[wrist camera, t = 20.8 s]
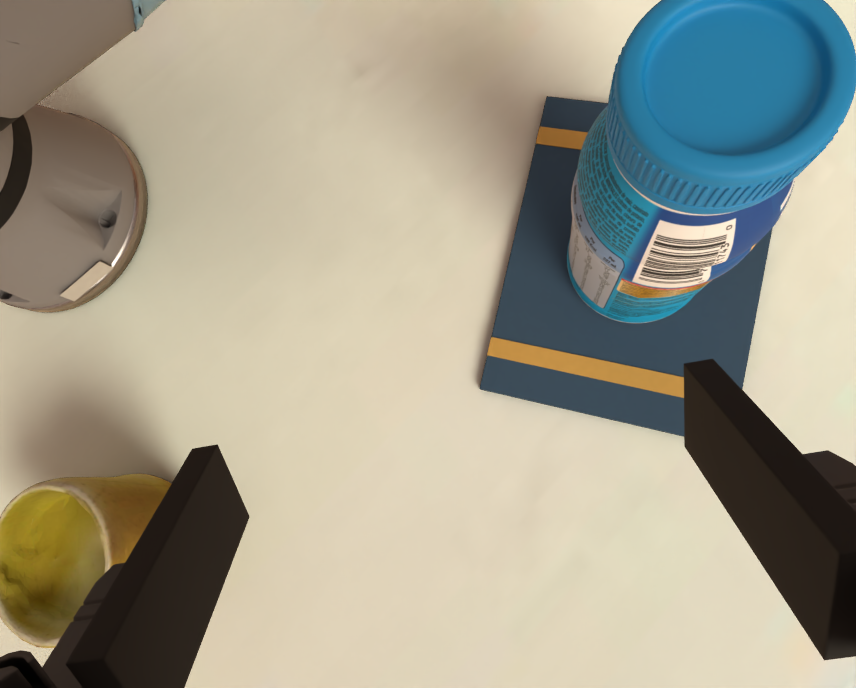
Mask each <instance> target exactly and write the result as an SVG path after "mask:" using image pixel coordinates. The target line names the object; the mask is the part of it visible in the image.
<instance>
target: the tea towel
mask: <svg viewBox="0 0 856 688" xmlns="http://www.w3.org/2000/svg"><path fill="white" fill-rule="evenodd" d="M607 105H608V103H600V102H591V101H582V100H574V99H565V98H557V97H548V96H547V97H546V102H545V106H544V111H543V115H542V119H541V124H540V127H539V131H538V136H537V140H536V145H535V150H534V154H533V158H532V163H531V167H530V171H529V176H528V180H527V184H526V189H525V193H524V197H523V202H522V206H521V210H520V215H519V219H518V223H517V228H516V232H515V237H514V241H513V245H512V250H511V254H510V258H509V263H508V267H507V271H506V276H505V280H504V284H503V289H502V293H501V297H500V302H499V306H498V310H497V315H496V319H495V323H494V328H493V332H492V336H491V340H490V344H489V349H488V353H487V358H486V363H485V367H484V371H483V376H482V380H481V384H480V389H481V390H485V391H489V392H494V393H498V394H502V395H507V396H511V397H515V398H520V399H524V400H528V401H533V402H537V403H541V404H546V405H550V406H554V407H559V408H563V409H567V410H572V411H576V412H580V413H585V414H589V415H593V416H598V417H602V418H606V419H611V420H615V421H619V422H624V423H628V424H632V425H636V426H641V427H645V428H649V429H654V430H658V431H662V432H667V433H671V434H675V435H680V436H684V363H690V362H696V361H701V360H707V359H714V360H715V361H716V362H717V363H718V364H719V366H720V367H721V368H722V369H723V370H724V371H725V372H726V373H727V374H728V375H729V376H730V377H731V378H732V379H733V381H734V382H735V383H736V384H737V385H738V386H739V387H740V388H741V389H742V387H743V382H744V377H745V371H746V366H747V361H748V355H749V350H750V345H751V339H752V334H753V328H754V323H755V318H756V312H757V307H758V302H759V296H760V291H761V286H762V280H763V275H764V270H765V264H766V259H767V254H768V248H769V243H770V238H771V232H772V228H771V230H770V231H769V232H768V233H767V234H766V235H765V236H764V237H763V238H762V239H761V240H760V241H759V242H757V243H756V245H755V246H754V247H753V249H752V250H751V251H750V252H749V253H748V254H747V255H746V256H745V257H744V258H743V259H742V260H741V261H740V262H739V263H738V264H737V265H736V266H734V267H733V268H732V269H730V270H729V271H727V272H726V273H724V274H723V275H721V276H719V277H717V278H715V279H713V280H712V281H711V282H710V283H708V284H707V285H706V286H705V287H704V288H702V289H701V290H700V291H699V292H698V293H697V294H696V295H695V296H694V297H693V298H692V299H691V300H690V301H689V302H688V303H687V304H686V305H685V306H683V307H682V308H681V309H679V310H678V311H676V312H675V313H673V314H671V315H669V316H667V317H665V318H662V319H660V320H656V321H652V322H646V323H626V322H620V321H616V320H613V319H610V318H607V317H605V316H603V315H601V314H599V313H598V312H596V311H595V310H593V309H592V308H591V307H589V306H588V305H587V304H586V303H585V302H584V301H583V300H582V299H581V297H580V296H579V295H578V293H577V292H576V290H575V288H574V286H573V284H572V282H571V279H570V276H569V273H568V267H567V250H568V244H569V240H570V235H571V226H572V211H571V194H572V186H573V182H574V178H575V174H576V171H577V168H578V161H579V156H580V152H581V149H582V146H583V143H584V140H585V138H586V136H587V134H588V132H589V130H590V128H591V126H592V125H593V123H594V122H595V120H596V119H597V117H598V116H599V115H600V113H601V112H602V111H603V110H604V109H605V107H606V106H607Z"/></svg>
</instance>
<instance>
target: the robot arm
mask: <svg viewBox="0 0 856 688" xmlns="http://www.w3.org/2000/svg"><path fill="white" fill-rule="evenodd" d="M164 1H165V0H0V301H1V302H3V303H6V304H8V305H11V306H14V307H18V308H23V309H27V310H31V311H37V312H59V311H65V310H69V309H72V308H75V307H78V306H80V305H83V304H85V303H87V302H89V301H91V300H92V299H94V298H95V297H97V296H98V295H100V294H101V293H102V292H104V291H105V290H106V289H107V288H108V287H110V286H111V285H112V284H113V283H114V282H115V281H116V280H117V278H118V277H119V276H120V275H121V274H122V272H123V271H124V270H125V269H126V267H127V266H128V264H129V263H130V261H131V259H132V258H133V256H134V254H135V252H136V250H137V248H138V245H139V243H140V240H141V237H142V235H143V231H144V227H145V223H146V217H147V206H148V199H147V188H146V182H145V178H144V174H143V172H142V169H141V166H140V164H139V162H138V160H137V158H136V157H135V155H134V154H133V152H132V151H131V150H130V148H129V147H128V146H127V145H126V144H125V143H124V142H123V141H122V140H121V139H119V138H118V137H117V136H115V135H114V134H113V133H111V132H110V131H108V130H107V129H105V128H104V127H102V126H101V125H99V124H97V123H95V122H93V121H91V120H88V119H86V118H84V117H82V116H79V115H76V114H72V113H65V112H61V111H58V110H54V109H51V108H47V107H44V106H40V105H37V103H39V102H40V101H41V100H43V99H44V98H45V97H47V96H48V95H49V94H51V93H52V92H53V91H55V90H56V89H57V88H58V87H60V86H61V85H62V84H64V83H65V82H66V81H68V80H69V79H70V78H72V77H73V76H74V75H76V74H77V73H78V72H80V71H81V70H82V69H84V68H85V67H86V66H88V65H89V64H90V63H92V62H93V61H94V60H96V59H97V58H98V57H100V56H101V55H102V54H104V53H105V52H106V51H107V50H109V49H110V48H111V47H113V46H114V45H115V44H117V43H118V42H119V41H121V40H122V39H123V38H125V37H126V36H127V35H129V34H130V33H131V32H133V31H135V32H136V31H137V30H139V28H140V27H142V25H143V23H144V19H145V18H146V17H147V16H149V15H150V14H151V13H152V12H153V11H154V10H155V9H156V8H157V7H158V6H160V5H161V4H162V3H163V2H164ZM684 437H685V448H686V449H687V451H688V452H689V454H690V455H691V457H692V458H693V460H694V461H695V463H696V465H697V466H698V468H699V469H700V471H701V472H702V474H703V475H704V477H705V478H706V480H707V481H708V483H709V484H710V486H711V487H712V489H713V491H714V492H715V494H716V495H717V497H718V498H719V500H720V501H721V503H722V504H723V506H724V507H725V509H726V510H727V512H728V513H729V515H730V517H731V518H732V520H733V521H734V523H735V524H736V526H737V527H738V529H739V530H740V532H741V533H742V535H743V536H744V538H745V540H746V541H747V543H748V544H749V546H750V547H751V549H752V550H753V552H754V553H755V555H756V556H757V558H758V559H759V561H760V562H761V564H762V566H763V567H764V569H765V570H766V572H767V573H768V575H769V576H770V578H771V579H772V581H773V582H774V584H775V585H776V587H777V589H778V590H779V592H780V593H781V595H782V596H783V598H784V599H785V601H786V602H787V604H788V605H789V607H790V608H791V610H792V611H793V613H794V615H795V616H796V618H797V619H798V621H799V622H800V624H801V625H802V627H803V628H804V630H805V631H806V633H807V634H808V636H809V637H810V639H811V641H812V642H813V644H814V645H815V647H816V648H817V650H818V651H819V653H820V654H821V656H822V657H823V659H824V660H829V659H837V658H845V657H853V656H856V466H855V465H854V464H853V463H851V462H849V461H847V460H845V459H843V458H841V457H839V456H837V455H836V454H834V453H832V452H830V451H821V452H815V453H808V454H802V453H801V452H800V451H799V450H798V449H797V448H796V447H795V446H794V445H793V444H792V443H791V442H790V441H789V440H788V438H787V437H786V436H785V435H784V434H783V433H782V432H781V431H780V430H779V429H778V428H777V427H776V426H775V424H774V423H773V422H772V421H771V420H770V419H769V418H768V417H767V416H766V415H765V414H764V413H763V412H762V411H761V409H760V408H759V407H758V406H757V405H756V404H755V403H754V402H753V401H752V400H751V399H750V398H749V397H748V396H747V394H746V393H745V392H744V391H743V390H742V389H741V388H740V387H739V386H738V385H737V384H736V383H735V382H734V381H733V379H732V378H731V377H730V376H729V375H728V374H727V373H726V372H725V371H724V370H723V369H722V368H721V367H720V366H719V364H718V363H717V362H716V361H715V360H714V359H707V360H701V361H696V362H690V363H684ZM248 519H249V515H248V512H247V510H246V508H245V505H244V503H243V501H242V499H241V496H240V494H239V492H238V490H237V487H236V485H235V483H234V481H233V478H232V476H231V474H230V472H229V469H228V467H227V465H226V463H225V460H224V458H223V456H222V454H221V451H220V449H219V447H218V445H212V446H206V447H201V448H195V449H192V450H191V452H190V454H189V455H188V457H187V459H186V460H185V462H184V464H183V465H182V467H181V469H180V471H179V472H178V474H177V476H176V477H175V479H174V481H173V482H172V484H171V486H170V487H169V489H168V491H167V493H166V494H165V496H164V498H163V499H162V501H161V503H160V504H159V506H158V508H157V509H156V511H155V513H154V515H153V516H152V518H151V520H150V521H149V523H148V525H147V526H146V528H145V530H144V532H143V533H142V535H141V537H140V538H139V540H138V542H137V543H136V545H135V547H134V548H133V550H132V552H131V554H130V555H129V557H128V559H127V560H126V562H125V563H120V564H114V565H113V566H112V567H111V568H110V569H109V570H108V571H107V572H106V573H105V574H104V575H103V576H102V577H101V578H100V579H98V580H97V581H96V582H95V584H94V586H93V587H92V589H91V590H90V592H89V594H88V595H87V597H86V598H85V600H84V602H83V606H80V608H79V610H78V611H77V613H76V614H75V616H74V618H73V619H74V620H73V622H70V624H69V626H68V627H67V629H66V630H65V632H64V634H63V635H62V637H61V638H60V640H59V642H58V643H57V645H56V646H55V648H54V650H53V651H52V653H51V654H50V656H49V658H48V659H47V661H46V662H45V664H44V666H43V667H41V665H40V664H39V663H38V662H37V660H36V659H35V658H34V656H33V655H32V654H31V652H27V651H16V652H12V653H8V654H6V655H4V656H2V657H0V688H184V687H185V684H186V682H187V679H188V677H189V674H190V671H191V669H192V666H193V663H194V661H195V658H196V656H197V653H198V650H199V648H200V645H201V642H202V640H203V637H204V635H205V632H206V629H207V627H208V624H209V621H210V619H211V616H212V614H213V611H214V608H215V606H216V603H217V600H218V598H219V595H220V593H221V590H222V587H223V585H224V582H225V579H226V577H227V574H228V572H229V569H230V566H231V564H232V561H233V558H234V556H235V553H236V551H237V548H238V545H239V543H240V540H241V538H242V535H243V532H244V530H245V527H246V524H247V522H248Z"/></svg>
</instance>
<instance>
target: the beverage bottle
mask: <svg viewBox="0 0 856 688" xmlns="http://www.w3.org/2000/svg"><path fill="white" fill-rule="evenodd" d="M855 88H856V54H855V49H854V45H853V42H852V39H851V37H850V35H849V32H848V30H847V28H846V27H845V25H844V23H843V22H842V20H841V19H840V17H839V16H838V15H837V13H836V12H835V11H834V10H833V9H832V8H831V7H830V6H829V5H828V4H827V3H826V2H825V1H824V0H661V1H660V2H659V3H657V4H656V5H655V6H654V7H653V8H652V9H651V10H650V11H649V12H648V13H647V14H646V15H645V16H644V17H643V18H642V19H641V20H640V22H639V23H638V24H637V25H636V27H635V28H634V30H633V31H632V33H631V34H630V36H629V38H628V39H627V42H626V44H625V46H624V47H623V48H622V52H621V55H619V57H618V62H617V64H616V66H615V71H614V74H613V79H612V84H611V90H610V95H609V102H608V105H607V106H606V107H605V109H604V110H603V111H602V112H601V113H600V115H599V116H598V117H597V119H596V120H595V122H594V123H593V125H592V126H591V128H590V130H589V132H588V134H587V136H586V138H585V140H584V143H583V146H582V149H581V152H580V156H579V161H578V168H577V171H576V174H575V178H574V182H573V186H572V194H571V211H572V226H571V235H570V240H569V244H568V250H567V267H568V273H569V276H570V279H571V282H572V284H573V286H574V288H575V290H576V292H577V293H578V295H579V296H580V297H581V299H582V300H583V301H584V302H585V303H586V304H587V305H588V306H589V307H591V308H592V309H593V310H595V311H596V312H598V313H599V314H601V315H603V316H605V317H607V318H610V319H613V320H616V321H620V322H626V323H646V322H652V321H656V320H660V319H662V318H665V317H667V316H669V315H671V314H673V313H675V312H676V311H678V310H679V309H681V308H682V307H683V306H685V305H686V304H687V303H688V302H689V301H690V300H691V299H692V298H693V297H694V296H695V295H696V294H697V293H698V292H699V291H700V290H701V289H702V288H704V287H705V286H706V285H707V284H708V283H710V282H711V281H712V280H713V279H715V278H717V277H719V276H721V275H723V274H724V273H726V272H727V271H729V270H730V269H732V268H733V267H734V266H736V265H737V264H738V263H739V262H740V261H741V260H742V259H743V258H744V257H745V256H746V255H747V254H748V253H749V252H750V251H751V250H752V249H753V247H754V246H755V245H756V243H757V242H759V241H760V240H761V239H762V238H763V237H764V236H765V235H766V234H767V233H768V232H769V231H770V230H771V228H772V227H773V226H774V225H775V223H776V222H777V221H778V219H779V218H780V216H781V214H782V213H783V211H784V209H785V207H786V205H787V203H788V201H789V198H790V195H791V193H792V189H793V186H794V182H795V177H796V176H798V175H799V174H800V173H801V172H802V171H803V170H804V169H805V168H806V167H807V166H808V165H809V164H810V163H811V162H812V161H813V160H814V159H815V158H816V157H817V156H818V155H819V154H820V153H821V152H822V151H823V150H824V149H825V148H826V145H827V144H828V143H829V142H830V141H831V140H832V139H833V136H834V135H835V134H836V133H837V132H838V128H839V127H840V125H841V124H842V123H843V122H844V118H845V116H846V115H847V112H848V110H849V108H850V105H851V103H852V100H853V97H854V93H855Z"/></svg>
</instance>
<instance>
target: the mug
mask: <svg viewBox="0 0 856 688" xmlns="http://www.w3.org/2000/svg"><path fill="white" fill-rule="evenodd" d="M171 484H172V483H170V482H168V481H166V480H164V479H161V478H159V477H156V476H152V475H147V474H127V475H121V476H116V477H70V478H59V479H53V480H48V481H44V482H41V483H38V484H35V485H33V486H31V487H29V488H27V489H25V490H24V491H22V492H21V493H20V494H19V495H17V496H16V497H15V498H14V499H12V500H11V501H10V503H9V504H8V505H7V506H6V508H5V509H4V511H3V512H2V515H1V517H0V617H1V619H2V620H3V622H4V624H5V625H6V626H7V627H8V628H9V629H10V630H11V631H12V632H13V633H14V634H15V635H17V636H18V637H19V638H20V639H22V640H23V641H25V642H27V643H29V644H32V645H34V646H36V647H43V648H54V647H55V646H56V645H57V643H58V642H59V640H60V638H61V637H62V635H63V634H64V632H65V630H66V629H67V627H68V626H69V624H70V622H73V620H74V619H73V618H74V616H75V614H76V613H77V611H78V610H79V608H80V606H83V602H84V600H85V598H86V597H87V595H88V594H89V592H90V590H91V589H92V587H93V586H94V584H95V582H96V581H97V580H98V579H100V578H101V577H102V576H103V575H104V574H105V573H106V572H107V571H108V570H109V569H110V568H111V567H112V566H113V565H114V564H120V563H125V562H126V560H127V559H128V557H129V555H130V554H131V552H132V550H133V548H134V547H135V545H136V543H137V542H138V540H139V538H140V537H141V535H142V533H143V532H144V530H145V528H146V526H147V525H148V523H149V521H150V520H151V518H152V516H153V515H154V513H155V511H156V509H157V508H158V506H159V504H160V503H161V501H162V499H163V498H164V496H165V494H166V493H167V491H168V489H169V487H170V486H171Z"/></svg>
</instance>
